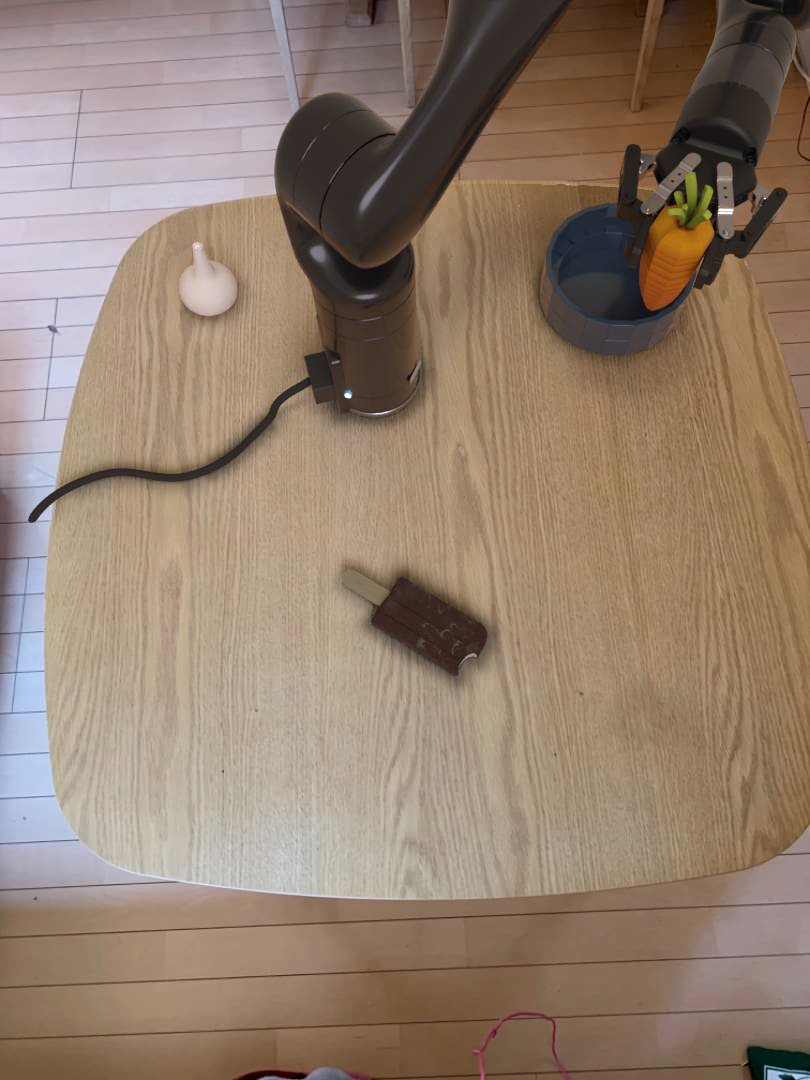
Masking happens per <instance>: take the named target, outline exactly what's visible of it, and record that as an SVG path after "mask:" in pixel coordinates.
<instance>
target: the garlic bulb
mask: <svg viewBox="0 0 810 1080" xmlns="http://www.w3.org/2000/svg"><path fill="white" fill-rule="evenodd" d="M191 248H192V255H193V256H192V258H193V263H192V264H190V265H188V267H185V269H184V271H183V272H182V273H181V275H180V278H179V280H178V293H179V297H180V299H181V301H182V303H183V305H185V307H186V308H187V309H189V310H190V311H191V312H193V313H194V314H197V315H200V316H204V317H214V316H218V315H220V314H223V313H225V312H227V311H228V310H229V309H230V308H232V306H233V305H234V303H235V302H236V300H237V297H238V283H237V279H236V277H235V275H234V273H233V272H232V271H231V269H230V268H228V267H227V266H226V265H224V264H223V263H221V262H219V261H215V260H210V259H209V256H208V255H207V252H206V251H205V248H204V244H203V243H202V242H201V241H200V242H199V241H195V242H193V243H192V246H191Z"/></svg>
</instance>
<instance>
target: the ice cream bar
mask: <svg viewBox="0 0 810 1080" xmlns="http://www.w3.org/2000/svg"><path fill="white" fill-rule="evenodd" d="M341 580H342V583H343V585H344V586H345V587H346V588H348V589H349V590H351V591H353V592H354V593H356V594H357V595H359V596H361V597H362V598H364V599H366V600H367V601H369V602H370V603H372V604H374V605H376V606H377V607H378V608H377V609H376V610H375V612H374V615H373V616H372V618H371V619H370V623H371V625H372V626H374V627H375V628H376V629H378V630H380V631H381V632H383V633H385V634H387V635H388V636H390V637H391V638H393V639H395V640H396V641H398V642H400V643H401V644H402V645H404V646H406V647H408V648H409V649H410V650H411V651H413V652H416V653H417V654H419V655H421V656H422V657H423V658H425V659H427V660H428V661H430V662H432V663H433V664H435V665H436V666H438V667H440V668H442V669H443V670H445V671H447V672H448V673H450V674H451V675H453V676H455V677H457V676H458V675H459V673H460V671H459V670H460V668H461V667H462V665H463V664H464V662H465V661H466V660H468V659H470V658H475V659H478V658H479V657H480V655H481V653H482V651H483V650H484V648H485V647H486V643H487V640H488V631H487V629H486V627H485V626H484V625H483V623H481V622H479V621H478V620H476V619H474V618H472V617H470V616H469V615H467V614H465V613H464V612H462V611H460V610H459V609H457V608H455V607H454V606H452V605H451V604H449V603H447V602H445V601H444V600H442V599H440V598H439V597H437V596H436V595H434V594H432V593H430V592H429V591H427V590H425V589H423V588H422V587H420V586H419V585H417V584H415V583H414V582H412V581H410V580H409V579H407V578H406V577H403V576H402V575H401V576H399V578H398V579H397V581H395V583H394V585H393V586H392V589H391V590H388V589H387V588H385V587H383V586H381V585H380V584H378V583H377V582H375V581H373V580H372V579H370V578H368V577H366V576H365V575H363V574H362V573H360V572H358V571H356V570H354V569H349V570H346V571H345V572H344V573H343V574H342V578H341Z"/></svg>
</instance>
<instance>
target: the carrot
mask: <svg viewBox="0 0 810 1080" xmlns="http://www.w3.org/2000/svg"><path fill="white" fill-rule="evenodd" d="M685 185H686V192H687V203H685V201H684V197H683V194H682V192H681V191H676V192H674V196H675V200H676V203H677V205H674V206H669V207H664V209H663V210H662V211H661V213H660V214H659V215H658V217H657V218H656V220H655V221H654V223H653V224H652V226H651V227H650V229H649V234H648V237H647V239H646V242H645V245H644V249H643V253H642V257H641V261H640V272H639V285H640V290H641V294H642V297H643V300H644V303H645V305H646V307H647V309H649V310H651V311H653V310H657V309H660V308H662V307H664V306H666V305H668V304H669V303H670V302H672V301H673V300H674V299H675V298H676V297H677V296H678V294H679V293H680V292H681V291H682V289H683V288H684V287H685V286H686V284H687V283H688V281H689V280H690V278H691V277H692V275H693V274H694V272H695V271H696V272H697V269H698V268H699V266H700V265H701V263H702V261H703V258H704V256H705V253H706V251H707V249H708V247H709V245H710V243H711V241H712V239H713V236H714V230H713V227H712V225H711V222H710V220H709V219H710V218H711V216H712V214H711V212H710V211H709V210H707V207H708V205H709V202H710V200H711V197H712V194H713V189H712V188H711V187H710V186H709V185H705V186H704V189H703V192H702V195H701V198H700V201H699V204H698V206H697V208H696V203H697V181H696V174H695V172H688V173H685Z"/></svg>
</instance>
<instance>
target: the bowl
mask: <svg viewBox="0 0 810 1080" xmlns="http://www.w3.org/2000/svg"><path fill="white" fill-rule="evenodd" d="M616 210H617V202H603V203H599V204H595V205H591V206H590V205H589V206H587V207H584V208H582V209H580V210H578V211H576V212H574V213H573V214H571V215H570V216H568V217H566V218H565V219H564V221H562V222H561V224H560V225H559V226H557V228H556V229H555V230H554V231H553V233H552V235H551V237H550V240H549V241H548V244H547V247H546V249H545V254H544V260H543V264H542V270H541V274H540V275H541V276H540V281H539V304H540V307H541V309H542V312H543V314H544V317H545V319H546V321H547V322H548V323H549V325H550V326H551V327H552V328H553V329H554V331H555V332H556V333H557V334H558V336H560V337H561V338H563V339H564V340H566V341H568V342H569V343H571V344H572V345H573V346H575V347H577V348H578V349H581V350H585V351H588V352H590V353H594V354H597V355H601V356H602V355H603V356H627V355H630V354H634V353H639V352H643V351H646V350H648V349H650V348H651V347H653V346H654V345H656V344H658V343H660V342H661V341H663V340H664V339H665V338H666V337H667V336H668V334H669V333H670V332H671V331H672V330H673V329H674V327H675V326H676V324H677V323H678V321H679V319H680V317H681V315H682V312H683V310H684V308H685V306H686V303H687V302H688V299H689V297H690V296H691V293H692V289H693V285H694V282H695V280H696V277H697V270H696V271H695V272H694V274H693V275H692V277H691V278H690V280H689V281H688V283H687V284H686V286H685V287H684V288H683V289H682V291H681V292H680V293H679V294H678V296H677V297H676V298H675V299H674V300H673V301H672V302H670V303H669V304H668V305H666V306H664V307H662V308H660V309H657V310H653V311H651V310H649V309H647V307H646V305H645V303H644V300H643V297H642V294H641V290H640V285H639V272H640V261H641V257H642V253H643V251H642V253H641V256H640V258H639V261H638V263H637V266H636V268H635V269H634V268H631V267H628V266H627V265H628V262H629V260H628V259H625V258H624V256H623V252H624V249H625V245H626V242H627V240H628V237H629V235H630V232H631V230H632V225H631V223H629V222H628V221H625V222H622V221H619V220H618V219H617V218H616ZM643 249H644V248H643Z"/></svg>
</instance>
